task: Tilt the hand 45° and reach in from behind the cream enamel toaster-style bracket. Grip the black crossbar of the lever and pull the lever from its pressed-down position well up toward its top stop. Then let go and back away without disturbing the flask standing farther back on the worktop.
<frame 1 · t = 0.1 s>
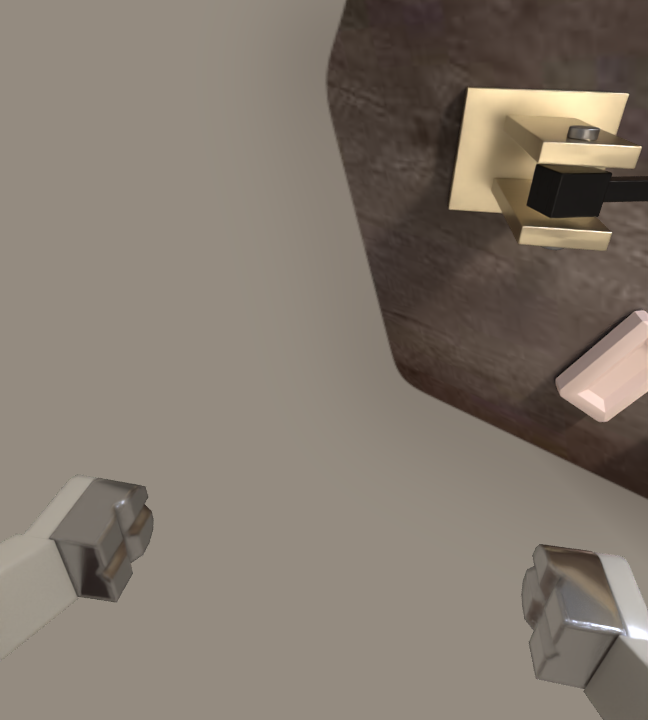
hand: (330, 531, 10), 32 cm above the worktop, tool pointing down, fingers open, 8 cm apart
toaster bracket: (528, 153, 35), on the worktop
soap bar: (614, 359, 42), on the worktop
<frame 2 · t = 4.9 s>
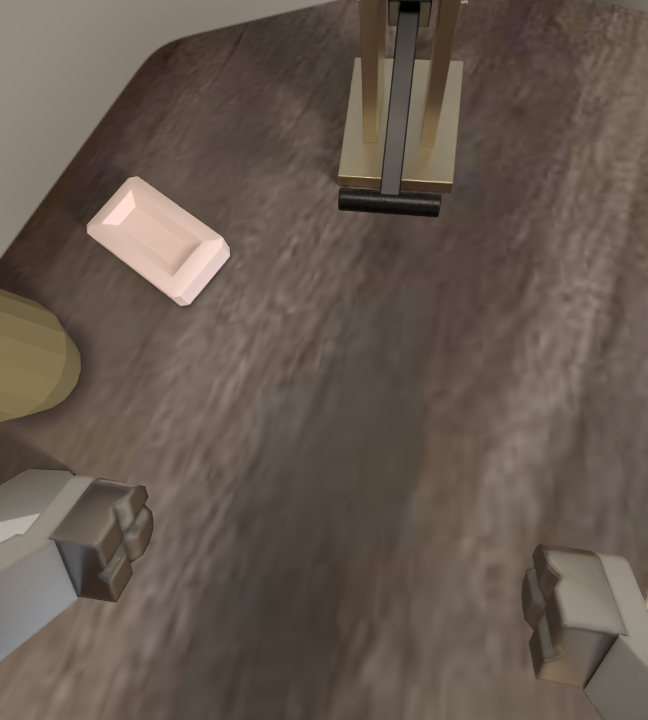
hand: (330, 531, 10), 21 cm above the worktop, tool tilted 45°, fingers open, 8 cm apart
toaster bracket: (400, 128, 36), on the worktop
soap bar: (166, 249, 36), on the worktop
squeeze bottle: (45, 370, 35), on the worktop
flask: (48, 523, 33), on the worktop
lever: (401, 89, 26), point 9 cm above the worktop, hinge at -20.0°
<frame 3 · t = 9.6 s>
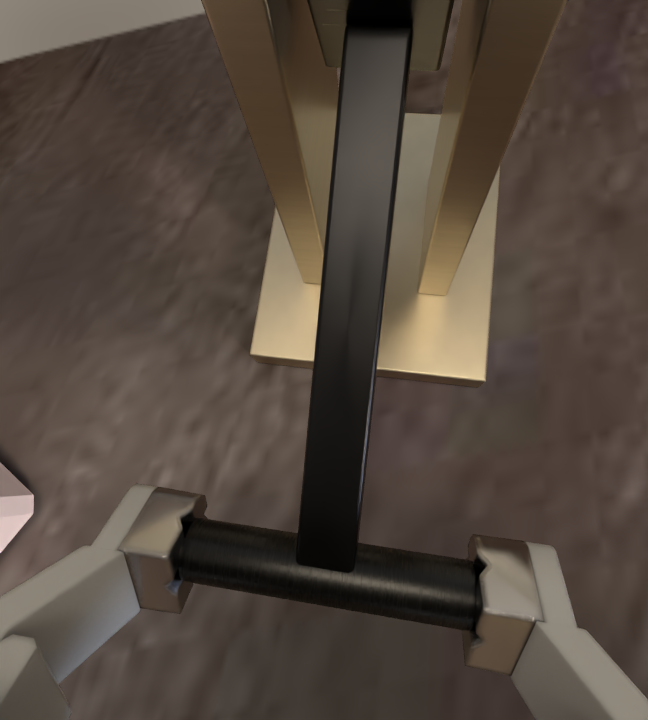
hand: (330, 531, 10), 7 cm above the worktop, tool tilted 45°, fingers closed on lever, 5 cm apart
toaster bracket: (380, 247, 19), on the worktop
lever: (357, 261, 9), point 9 cm above the worktop, hinge at -19.9°, touching gripper
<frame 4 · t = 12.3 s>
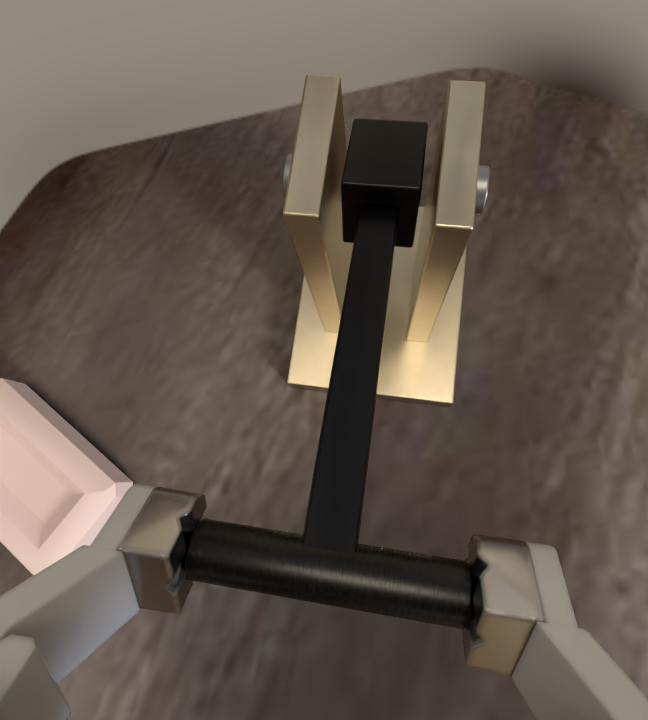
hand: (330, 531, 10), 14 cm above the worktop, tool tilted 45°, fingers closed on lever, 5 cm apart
toaster bracket: (379, 302, 26), on the worktop
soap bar: (48, 473, 26), on the worktop
lever: (363, 324, 13), point 12 cm above the worktop, hinge at 16.4°, touching gripper
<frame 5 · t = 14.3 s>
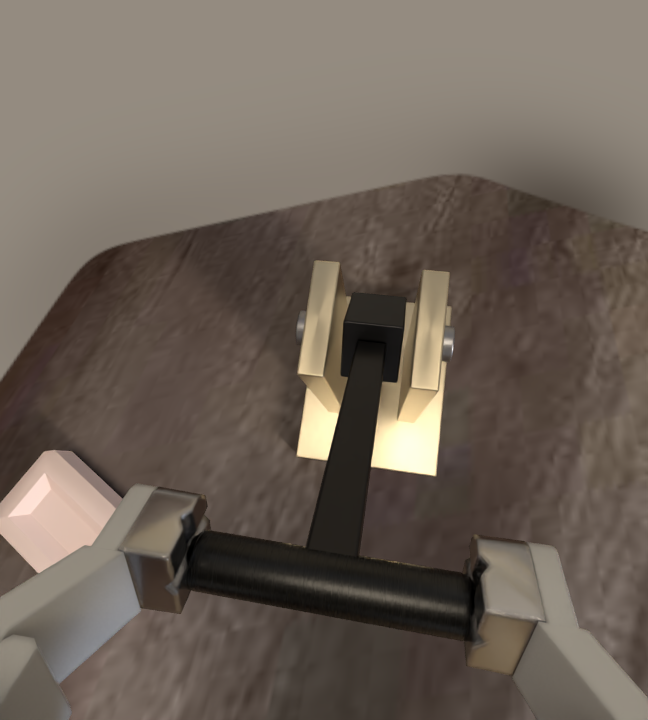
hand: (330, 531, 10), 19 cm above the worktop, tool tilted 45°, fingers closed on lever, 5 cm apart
toaster bracket: (375, 383, 30), on the worktop
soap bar: (92, 528, 30), on the worktop
lever: (359, 411, 15), point 15 cm above the worktop, hinge at 47.4°, touching gripper
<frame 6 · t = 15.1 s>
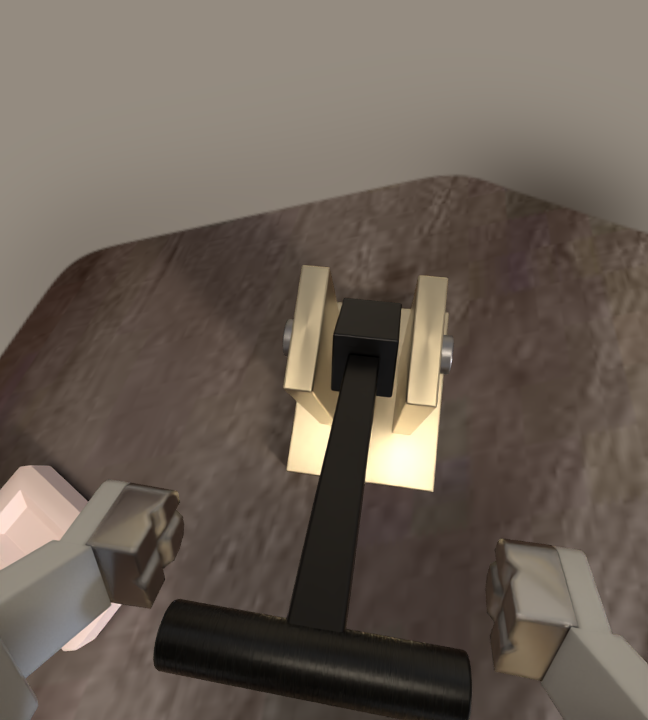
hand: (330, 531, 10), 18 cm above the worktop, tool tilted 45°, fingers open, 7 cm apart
toaster bracket: (369, 393, 29), on the worktop
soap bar: (71, 547, 29), on the worktop
lever: (350, 440, 14), point 15 cm above the worktop, hinge at 43.9°
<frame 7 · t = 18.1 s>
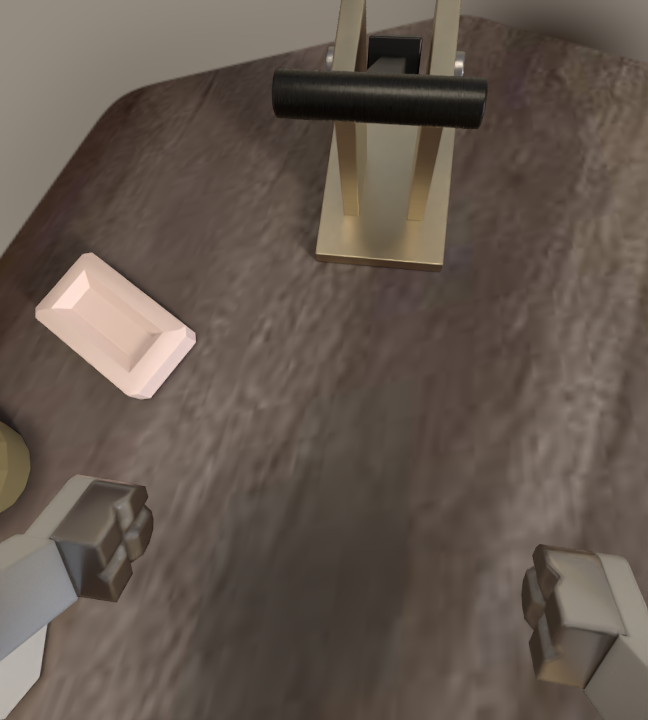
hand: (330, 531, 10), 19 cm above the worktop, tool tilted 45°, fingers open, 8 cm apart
toaster bracket: (385, 196, 33), on the worktop
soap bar: (126, 331, 33), on the worktop
lever: (388, 78, 18), point 15 cm above the worktop, hinge at 43.9°
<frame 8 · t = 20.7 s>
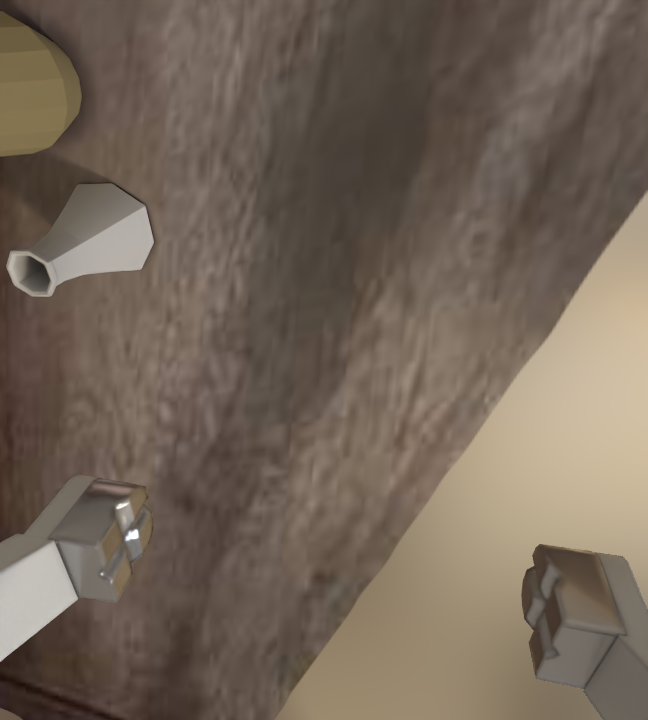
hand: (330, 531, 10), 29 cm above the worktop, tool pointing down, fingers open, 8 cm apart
squeeze bottle: (45, 82, 35), on the worktop
flask: (113, 226, 40), on the worktop
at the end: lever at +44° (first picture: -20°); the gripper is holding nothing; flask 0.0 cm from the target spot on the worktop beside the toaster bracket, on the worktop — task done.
